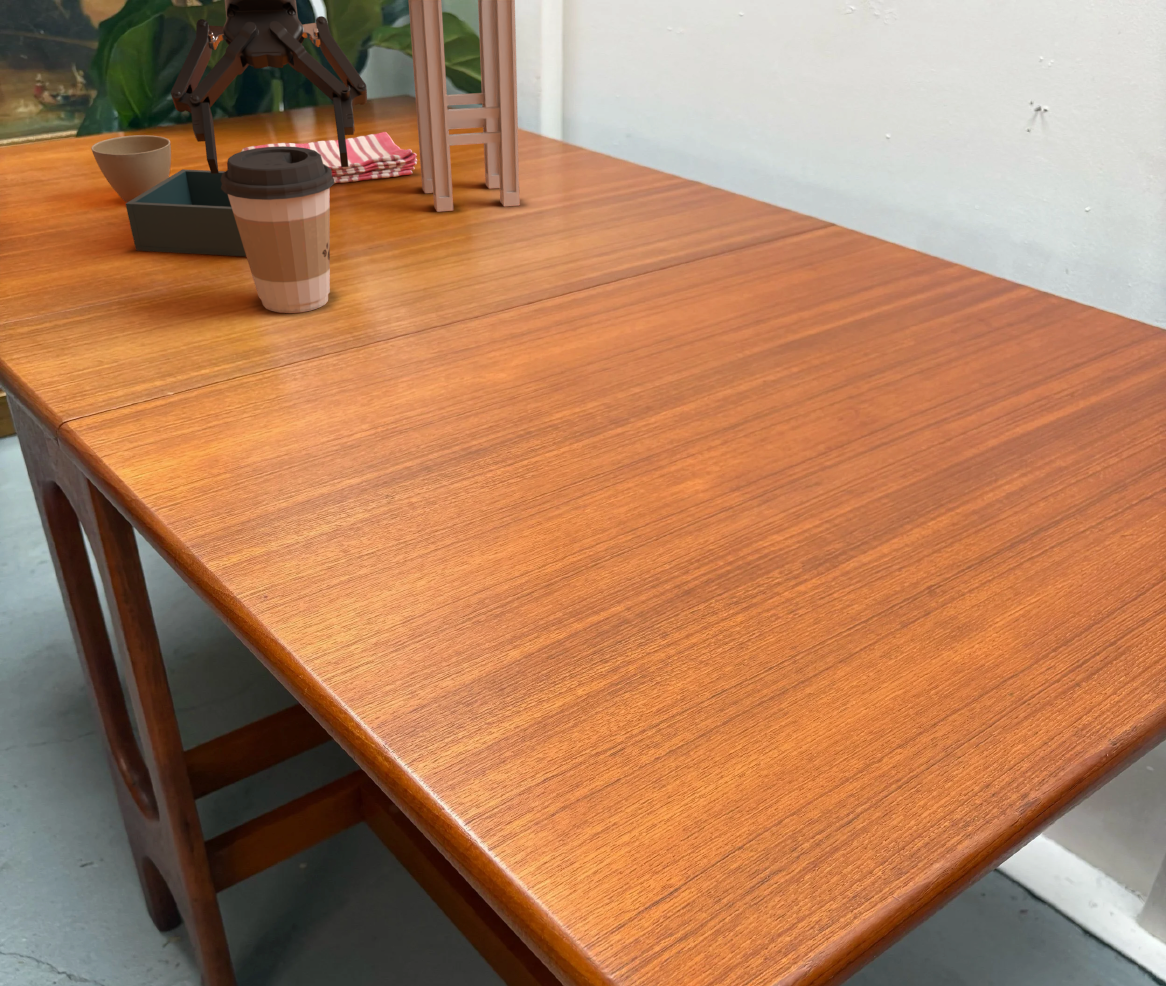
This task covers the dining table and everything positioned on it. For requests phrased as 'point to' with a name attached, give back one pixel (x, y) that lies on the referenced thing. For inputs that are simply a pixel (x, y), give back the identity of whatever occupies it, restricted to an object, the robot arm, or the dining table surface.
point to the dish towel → (361, 157)
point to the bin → (185, 216)
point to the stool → (467, 101)
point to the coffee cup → (283, 223)
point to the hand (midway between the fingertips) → (279, 163)
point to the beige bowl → (133, 163)
